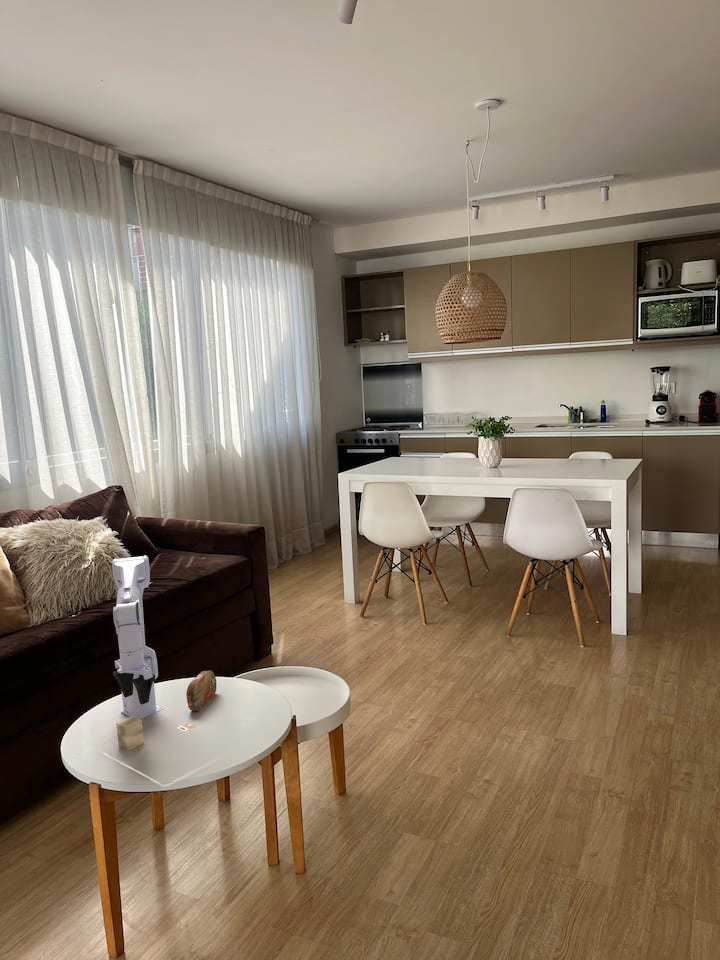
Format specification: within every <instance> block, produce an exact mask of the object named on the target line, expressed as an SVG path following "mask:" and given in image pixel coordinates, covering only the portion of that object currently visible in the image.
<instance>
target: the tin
mask: <svg viewBox="0 0 720 960" xmlns="http://www.w3.org/2000/svg"><path fill="white" fill-rule="evenodd" d="M216 692H217V678H216V674H215V672H214V671H213V670H204V671H203V670H202V671H201V672H200V673H199V674H197V676H196V677H194V679H192V680H191V681H190V683H189V684H188V686H187V689H186V694H185V695H186V702H187V706H188V710H190V711H192V712H200V711H201V709H203V708H204V706H205V705H206V704H207V703H209V701H210V700H211V699H212V698H213V697H214V696H215V695H216Z"/></svg>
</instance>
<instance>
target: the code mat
mask: <svg viewBox="0 0 720 960" xmlns="http://www.w3.org/2000/svg"><path fill="white" fill-rule="evenodd" d="M194 728H196V725H195V724H193V723H190V722H187V723H184V724H183V725H179V726H177V727H176V729H178V730H179V731H181V732H187V731H189V730H190V729H194Z"/></svg>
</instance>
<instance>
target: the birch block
mask: <svg viewBox="0 0 720 960" xmlns="http://www.w3.org/2000/svg"><path fill="white" fill-rule="evenodd" d="M115 725H116V733H117V735H116V736H117V743H118V746H119V747H121V748H123V749H125V750H127V751H130V750H132V749H134V748H136V747H139V746H140V745H144V744H145V739H144V730H143V728H144V727H143V720H142V719H137V718H135V717H133V716H128V717H127V718H124V719H123V720H120V721H117V722H116V724H115Z"/></svg>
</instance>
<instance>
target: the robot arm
mask: <svg viewBox="0 0 720 960" xmlns="http://www.w3.org/2000/svg"><path fill="white" fill-rule="evenodd" d="M111 563H112V564H111V568H112V578H113V580H114V584H115V586H116V588H117V592H116V593H117V594H116V606H113V609H112V615H113V616H112V617H113V623H114V627H115V632H116V633H115V634H116V635H117V640H118V641H117V642H118V649H119V659H117V660H114V666H115V669H117V670H114V671H113V672H112V675H113V676H114V678H115V679H116V681H117V683H118V685H119V686H120V690H121V699H122V708H123V709H121V710H120V713H122V714H124V715H126V716H128V717H131V716H133V717H135V718H137V719H139V720H142V719H143V718H147V717H148V716H151V715H153V714H155V713H157V712H160V711H162V710H164V708H163V707H160V706H159V705H157V700H156V691H155V690H156V689H155V680H156V679H157V678H158V676H159V671H158V670H159V669H158V658H157V655H156V654H157V653H156V652H155V651H156V650H154V649H152V648H151V647H148V646H147V645H146V638H145V637H146V636H145V633H146V632H145V623H144V621H145V620H144V607H143V606H144V605H143V603H144V602H143V594H144V589H145V588H148V586H150V582H151V578H150V575H151V572H150V571H151V569H150V561H149V557H148V555H143V556H142V555H141V556H132V557H123V558H114V559H113V560H112V562H111Z"/></svg>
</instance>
